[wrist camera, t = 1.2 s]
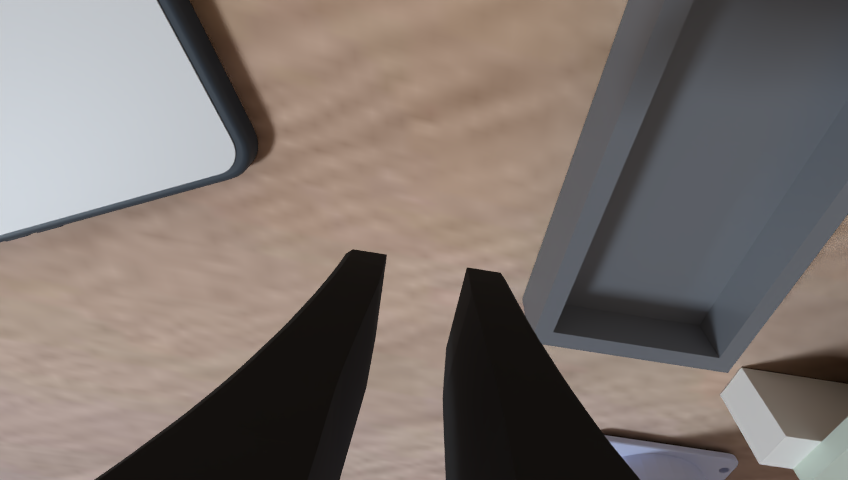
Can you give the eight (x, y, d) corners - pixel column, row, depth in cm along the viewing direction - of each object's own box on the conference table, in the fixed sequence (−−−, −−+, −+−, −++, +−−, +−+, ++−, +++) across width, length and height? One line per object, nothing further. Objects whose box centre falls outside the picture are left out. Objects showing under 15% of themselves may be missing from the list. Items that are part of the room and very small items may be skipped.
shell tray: (699, 326, 21) (727, 372, 19) (522, 298, 21) (530, 342, 19) (936, -34, 13) (1029, -27, 11) (659, -87, 13) (700, -90, 11)
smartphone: (142, -116, 14) (-243, 45, 17) (110, -121, 13) (-303, 55, 15) (277, 157, 18) (-45, 246, 21) (263, 175, 17) (-78, 268, 20)
